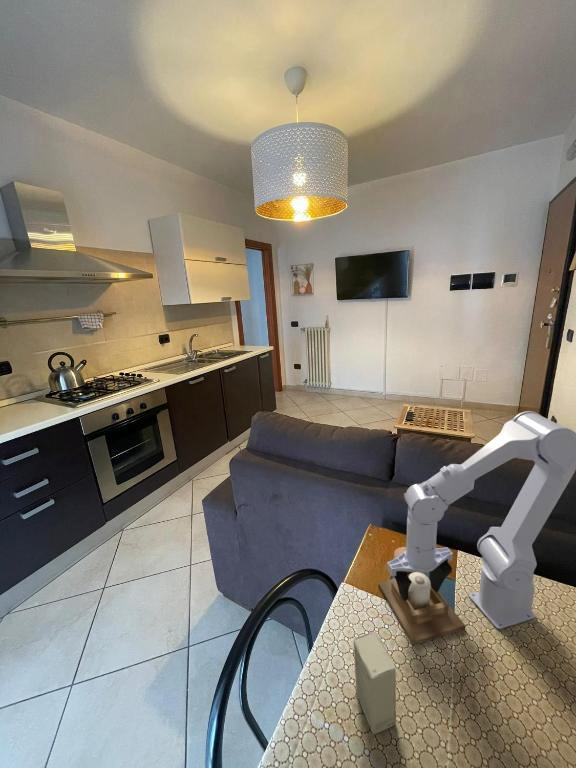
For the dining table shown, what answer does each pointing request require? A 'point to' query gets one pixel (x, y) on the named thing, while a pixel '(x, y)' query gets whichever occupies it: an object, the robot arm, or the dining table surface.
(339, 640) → the dining table surface
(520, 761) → the dining table surface
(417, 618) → the caddy
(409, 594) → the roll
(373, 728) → the skincare box
